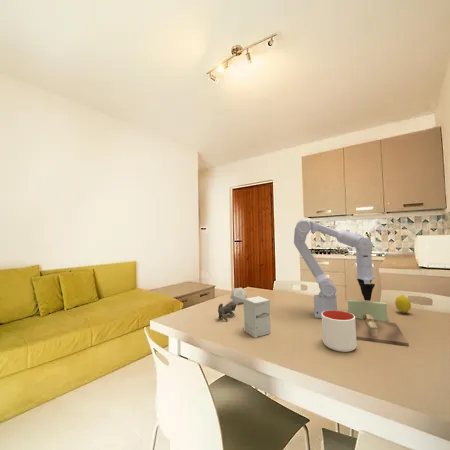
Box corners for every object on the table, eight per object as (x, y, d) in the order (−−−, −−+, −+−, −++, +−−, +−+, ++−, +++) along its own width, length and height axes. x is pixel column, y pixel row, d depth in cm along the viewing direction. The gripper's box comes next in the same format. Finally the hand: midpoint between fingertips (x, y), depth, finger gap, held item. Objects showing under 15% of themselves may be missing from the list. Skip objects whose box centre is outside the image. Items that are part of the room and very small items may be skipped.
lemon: (414, 315, 102) (413, 296, 102) (399, 315, 103) (398, 296, 103) (407, 311, 107) (406, 293, 108) (393, 311, 108) (392, 293, 109)
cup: (355, 356, 71) (353, 322, 72) (320, 349, 76) (318, 317, 77) (357, 342, 80) (356, 312, 80) (325, 336, 85) (324, 308, 85)
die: (243, 300, 136) (232, 287, 137) (252, 295, 131) (241, 281, 131) (236, 309, 130) (224, 295, 130) (245, 304, 124) (234, 290, 125)
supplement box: (255, 338, 86) (253, 302, 86) (244, 331, 92) (242, 298, 93) (271, 333, 89) (270, 299, 90) (259, 327, 96) (258, 295, 96)
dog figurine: (224, 323, 102) (224, 305, 102) (214, 320, 105) (214, 303, 106) (241, 315, 111) (240, 298, 111) (231, 312, 115) (230, 297, 115)
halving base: (345, 337, 84) (344, 326, 84) (343, 320, 100) (343, 310, 100) (408, 346, 76) (407, 333, 76) (395, 325, 92) (395, 315, 92)
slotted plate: (348, 317, 103) (347, 301, 103) (348, 316, 104) (347, 299, 105) (387, 321, 97) (386, 304, 97) (386, 319, 99) (385, 302, 99)
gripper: (378, 268, 93) (380, 303, 93) (372, 263, 106) (374, 294, 106) (357, 267, 96) (359, 302, 96) (354, 263, 109) (356, 293, 109)
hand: (366, 297), depth 101 cm, fingers open, 7 cm apart
